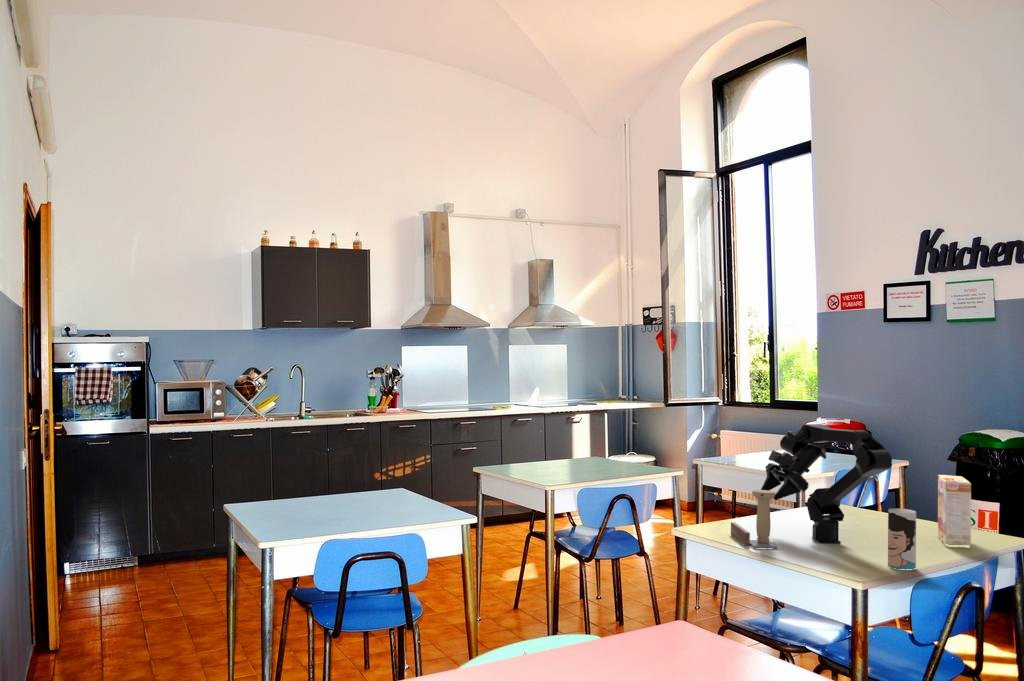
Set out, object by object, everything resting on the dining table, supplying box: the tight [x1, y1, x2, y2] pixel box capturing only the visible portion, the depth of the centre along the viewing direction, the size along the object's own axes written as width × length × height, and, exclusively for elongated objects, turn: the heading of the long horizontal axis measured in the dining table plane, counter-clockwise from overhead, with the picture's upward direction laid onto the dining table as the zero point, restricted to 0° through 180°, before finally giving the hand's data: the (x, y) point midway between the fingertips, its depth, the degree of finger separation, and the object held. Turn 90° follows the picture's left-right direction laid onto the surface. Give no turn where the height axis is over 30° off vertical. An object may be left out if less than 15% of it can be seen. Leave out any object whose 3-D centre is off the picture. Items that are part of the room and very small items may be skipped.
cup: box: [887, 507, 917, 570], centre depth 219 cm, size 7×7×15 cm
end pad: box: [750, 539, 779, 550], centre depth 241 cm, size 7×8×1 cm
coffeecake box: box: [937, 474, 972, 547], centre depth 249 cm, size 15×7×20 cm, turn 160°
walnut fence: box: [730, 521, 751, 547], centre depth 247 cm, size 1×15×4 cm, turn 1°
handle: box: [752, 489, 776, 543], centre depth 242 cm, size 5×6×15 cm
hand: (767, 495), depth 254 cm, fingers open, 9 cm apart
